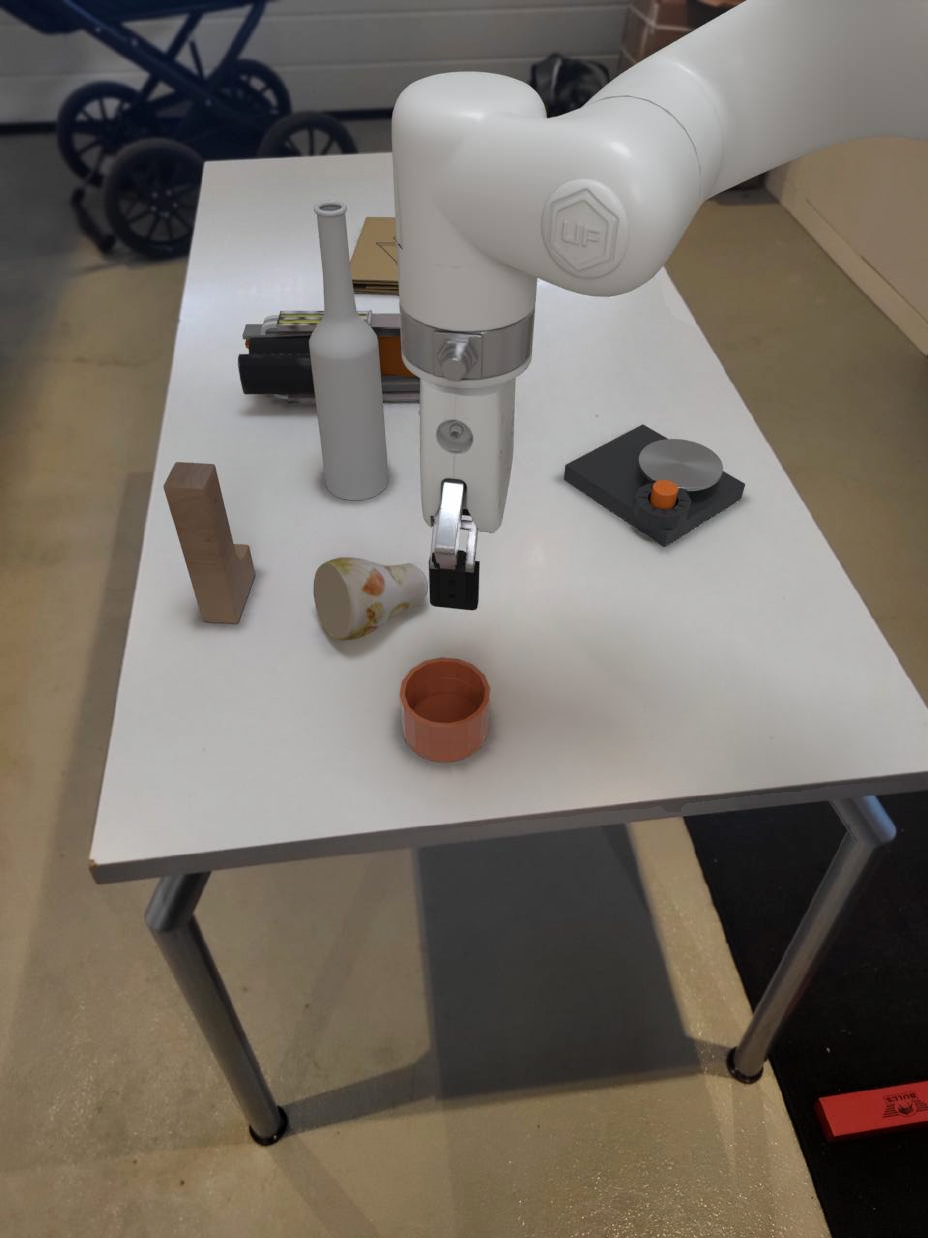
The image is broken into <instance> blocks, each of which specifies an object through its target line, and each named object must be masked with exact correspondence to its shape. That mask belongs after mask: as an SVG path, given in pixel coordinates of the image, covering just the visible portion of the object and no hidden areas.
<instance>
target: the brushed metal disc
mask: <svg viewBox="0 0 928 1238" xmlns="http://www.w3.org/2000/svg"><path fill="white" fill-rule="evenodd" d="M638 465H639V468H640V470H641V472H642V473H643V474H644V476H645V477H647V478H648V479H649V480H650V481H652V482H653V483H655V482H657V481H660V480H667V481H671V482H673V483H675V484H676V485H677V487H678V491H698V490H703V489H706V488H709V487H711V486H713V485H714V484H716V483H717V482H718V481H719V479H720V478H721V476H722V473H723V471H724V464H723V462H722V459H721V457H719V455H718V454H717V453H715V451H713V450H712V449H710V448H709V447H707V446H706V445H703V444H701V443H699V442H696V441H692V440H688V439H681V438H668V439H665V440H659V441H656V442H653V443H651V444H649V445H647V446H646V447H645V448H644V449H643V450H642V451H641V453H640V455H639V459H638Z"/></svg>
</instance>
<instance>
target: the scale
mask: <svg viewBox="0 0 928 1238" xmlns="http://www.w3.org/2000/svg"><path fill="white" fill-rule="evenodd" d="M665 439H669V438H668V437H666V436H664V435H663V434H661V433H659V432H657V431H655V430H654V429H653V428H651V427H649V426H647V425H645V424H643V423H642V424H641V425H638V426H637V427H635V428H632V429H631V430H629V431H627V432H625V433H623V434H622V435H621V434H620V436H618V437H615V438H614V439H611V440H610V441H607V442H606V443H604V444H602V445H600V446H598V447H596V448H595V449H593V450H591V451H589V452H587V453H585V454H583V455H581V456H580V457H578V458H576V459H574V460H572V461H570V462H568V463H566V464H565V465H564V471H563V472H564V473H563V481H565V482H567V483H569V485H571V486H573V487H574V488H576V489H577V490H579V491H580V492H581V493H583V494H585V495H586V496H588V497H589V498H591V499H592V500H594V501H596V502H597V503H598V504H600V505H601V506H603V508H606V509H607V510H608V511H610V512H612V513H613V514H614V515H616V516H618V517H619V518H621V519H622V520H624V521H625V522H627V523H628V524H629V525H631V526H632V527H634V528H635V529H637V530H638V531H640V532H642V533H643V534H644V535H646V536H647V537H649V538H650V539H652V540H653V541H655V542H656V543H658V544H660V545H661V546H662V547H666V546H668V545H670V544H671V543H673V542H674V541H676V540H678V539H679V538H682V537H683V536H684V535H685V534H687V533H689V532H691V531H692V530H694V529H695V528H697V527H698V526H700V525H702V524H703V523H705V522H706V521H708V520H709V519H711V518H712V517H714V516H716V515H717V514H719V513H721V512H722V511H724V510H726V509H727V508H729V507H730V506H732V505H733V504H735V503H736V502H738V501H740V500H741V499H742V498H743V495H744V491H745V488H746V483H745V482H743V481H741V480H739V479H738V478H736V477H735V476H733V475H731V474H730V473H728V472H726V471H724V470H723V473H722V476H721V478H720V479H719V481H718V482H717V483H716V484H714V485H713V486H711V487H709V488H706V489H703V490H698V491H678V493H677V498H676V502H675V505H674V506H673V507H672V508H668V509H663V508H658V507H655V506H653V505H652V504H651V502H650V498H651V493H652V488H653V485H654V483H653V482H652V481H650V480H649V479H648V478H647V477H645V476H644V474H643V473H642V472H641V470H640V468H639V465H638V459H639V455H640V453H641V451H642V450H643V449H644V448H645V447H646V446H647V445H649V444H651V443H653V442H656V441H659V440H665Z"/></svg>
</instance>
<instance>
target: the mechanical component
mask: <svg viewBox="0 0 928 1238" xmlns="http://www.w3.org/2000/svg"><path fill="white" fill-rule="evenodd" d="M357 313H358V315H359V316H360V317H361V318H362V319H363V320H364V321H365V322H366V323H367V324H368V325H369V326H370V327H371V328H372V329H373V331H374V332H375V334H376V335H377V339H378V347H379V360H380V372H381V385H382V398H383V402H388V401H390V402H392V401H394V402H403V401H405V402H406V401H408V402H409V401H411V402H412V401H413V402H415V401H416V402H420V378H419V377H417V376H416V375H414V374H413V373H412V372H411V371H410V370H408V369H407V367H406V366H405V364H404V362H403V360H402V348H401V330H400V312H399V313H396V312H395V313H393V312H392V313H390V312H389V313H385V312H384V313H380V312H379V313H373V310H372V309H369V310H357ZM323 317H324V310H280V311H279V314H272V315H268V316H266V317H264V319H263V322H262V323H245V326H244V330H243V332H242V335H241V337H242V340H245V342H244V345H245V348H246V349H247V350H248V353H238V356H237V370H238V375H239V380H240V386H241V390H242V393H243V394H244V395H272V396H273V397H275V398H277V399H280V400H287V402H288V404H316V398H315V390H314V382H313V373H312V365H311V356H310V347H309V340H310V337H311V335H312V333H313V331H314V329H315V328H316V327H317V325H318V324H319V323H320V321H321V320H322V319H323Z"/></svg>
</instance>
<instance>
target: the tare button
mask: <svg viewBox="0 0 928 1238" xmlns="http://www.w3.org/2000/svg"><path fill="white" fill-rule="evenodd" d="M677 493H678V487H677V485H676V484H675V483H673V482H671V481H667V480H660V481H657V482H655V483H654V485H653V488H652V493H651V498H650V502H651V504H652V505H653V506H655V507H658V508H663V509H668V508H672V507H673V506H674V505H675V502H676V498H677Z"/></svg>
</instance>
